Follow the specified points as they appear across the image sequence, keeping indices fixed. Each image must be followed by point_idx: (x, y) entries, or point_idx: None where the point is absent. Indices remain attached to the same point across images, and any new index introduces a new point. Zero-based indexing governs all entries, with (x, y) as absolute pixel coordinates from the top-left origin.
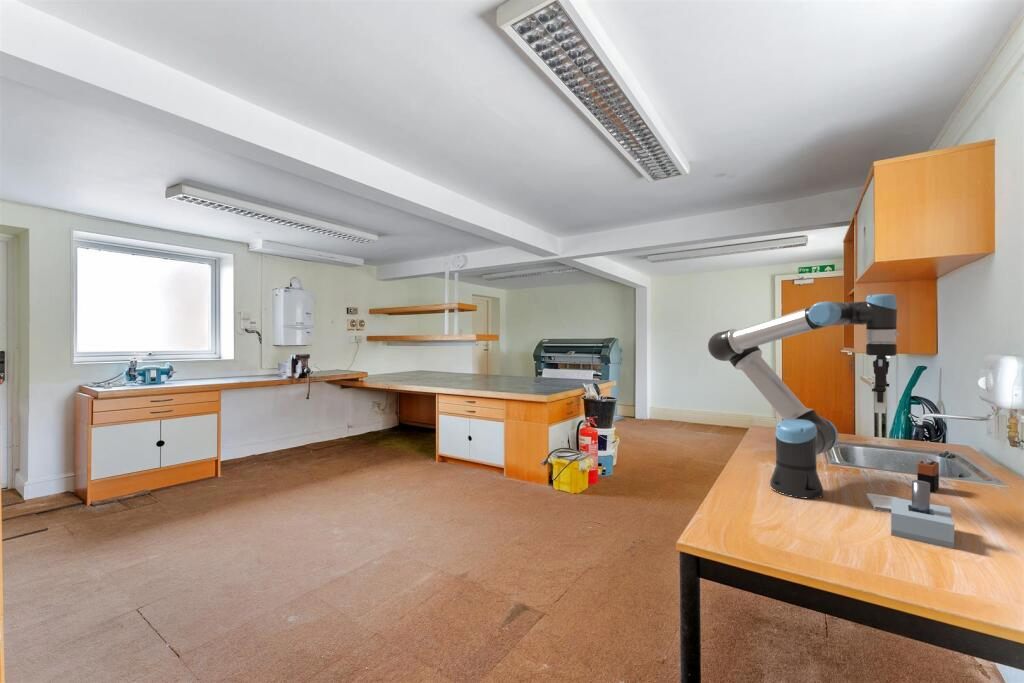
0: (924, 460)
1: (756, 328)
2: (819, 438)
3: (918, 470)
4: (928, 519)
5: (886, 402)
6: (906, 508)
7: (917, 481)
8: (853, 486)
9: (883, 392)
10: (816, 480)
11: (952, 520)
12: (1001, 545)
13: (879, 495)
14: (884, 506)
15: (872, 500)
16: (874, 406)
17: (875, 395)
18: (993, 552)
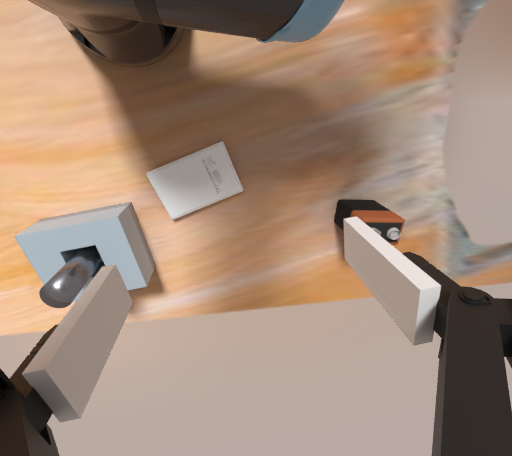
0: (377, 230)
1: None
2: (105, 2)
3: (354, 214)
4: (43, 279)
5: (356, 271)
6: (68, 247)
7: (56, 290)
8: (274, 102)
9: (53, 411)
10: (105, 48)
11: (76, 300)
12: (147, 310)
13: (226, 164)
14: (161, 186)
15: (180, 162)
16: (87, 287)
17: (46, 349)
18: None
